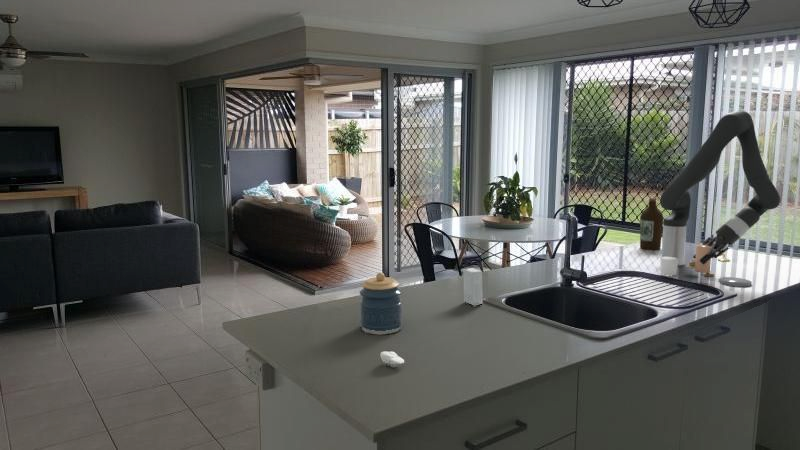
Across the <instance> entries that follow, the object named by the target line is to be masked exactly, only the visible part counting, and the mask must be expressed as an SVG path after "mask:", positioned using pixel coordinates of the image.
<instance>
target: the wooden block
mask: <svg viewBox="0 0 800 450" xmlns="http://www.w3.org/2000/svg"><path fill="white" fill-rule="evenodd" d="M710 248H711V246H709V245H702V244H697V245H696V246H695V254H696V256H695V261H694V262H695V269H694V272H695V273H700V274H701V273H709V272H710V271H711V265H712V264H711V260H712V258H711V259H710V260H708V261H707V262H706V263H705V264H702V263H701V262H700V259H701V258H702V257H703V256H705V255H706V254H707V253H708V252H709V251H710Z"/></svg>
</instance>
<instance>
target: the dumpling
mask: <svg viewBox="0 0 800 450" xmlns="http://www.w3.org/2000/svg"><path fill="white" fill-rule="evenodd" d="M380 360H381V361H382V362H383V363H384V362H385V363H390V364H394V365H395V364H402V363H403V364H405V359H404V358H402V357H401V356H399V355H398V354H397V353H396V352H395V351H381V352H380ZM385 363H384V364H385ZM403 364H402V365H403Z"/></svg>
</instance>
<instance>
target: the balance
mask: <svg viewBox="0 0 800 450" xmlns="http://www.w3.org/2000/svg"><path fill="white" fill-rule="evenodd" d="M725 255H726V254H725V252H724V253H723V254H721V255H720V256H719V257H721V256H722V258H717V261H718V262H721V263H730V262H731V260H730V259H728V258H725ZM685 267H686V268H688V269H695V259H694V258H693V259H691V260H690V261H689V264H687V265H686V266H685ZM702 274H703V275H704V276H703V275H702ZM702 274H701V275H702V276H703V277H713V276H714V277H715V274H714V273H713V272H712V271H711V270H710V272H709V273H702Z"/></svg>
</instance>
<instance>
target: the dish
mask: <svg viewBox="0 0 800 450" xmlns="http://www.w3.org/2000/svg"><path fill="white" fill-rule="evenodd" d="M719 282H720V283H719ZM718 283H719V284H721V283H722V284H721V285H724V284H725V285H724V286H728V285H729V286H728V287H734V286H738V287H737V288H740V287H741V288H745V287H746V288H748V287H751V286H752V281H751V280H749V279H746V278H741V277H731V276H728V277H727V276H725V277H723V276H722V277H719V278H718Z"/></svg>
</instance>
